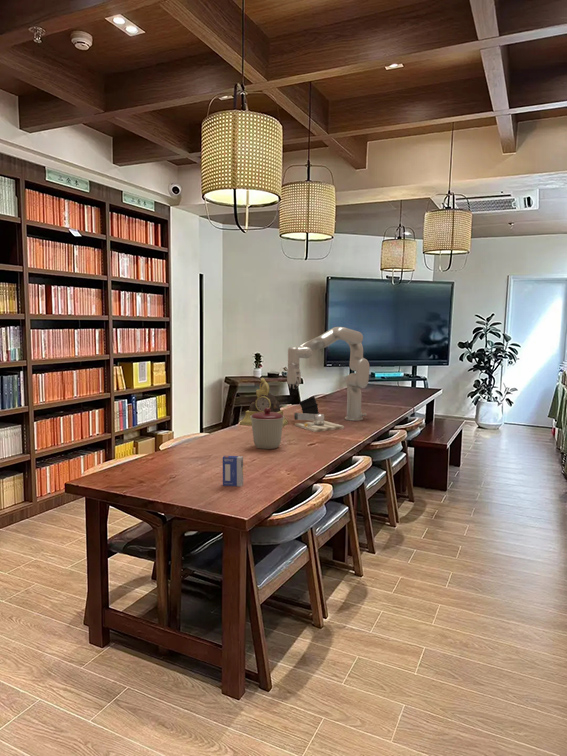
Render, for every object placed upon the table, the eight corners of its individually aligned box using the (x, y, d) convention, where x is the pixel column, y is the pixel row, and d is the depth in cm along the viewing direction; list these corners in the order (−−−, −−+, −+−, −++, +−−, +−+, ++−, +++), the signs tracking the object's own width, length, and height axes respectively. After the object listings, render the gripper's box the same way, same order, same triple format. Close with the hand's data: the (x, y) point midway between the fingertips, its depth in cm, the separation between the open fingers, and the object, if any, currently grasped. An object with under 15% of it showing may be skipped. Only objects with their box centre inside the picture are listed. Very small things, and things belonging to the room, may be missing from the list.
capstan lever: (325, 423, 329) (325, 414, 329) (322, 425, 324) (322, 415, 323) (295, 421, 335) (295, 412, 335) (293, 423, 330) (293, 413, 329)
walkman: (222, 485, 208) (222, 456, 207) (224, 483, 211) (224, 454, 210) (241, 486, 207) (241, 457, 206) (243, 484, 210) (243, 455, 209)
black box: (322, 416, 357) (313, 396, 358) (305, 423, 361) (296, 403, 362) (323, 415, 361) (314, 395, 361) (306, 422, 365) (297, 402, 365)
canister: (262, 441, 286) (262, 403, 284) (290, 446, 277) (291, 406, 275) (243, 448, 270) (243, 408, 268) (272, 453, 261) (272, 411, 259)
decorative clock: (239, 425, 333) (239, 378, 330) (246, 421, 345) (246, 376, 342) (281, 428, 325) (282, 380, 322) (287, 424, 337) (287, 378, 334)
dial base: (323, 422, 343) (323, 417, 342) (344, 428, 324) (344, 423, 324) (295, 425, 331) (295, 420, 331) (315, 432, 313) (315, 426, 312)
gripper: (305, 367, 330) (305, 395, 332) (291, 365, 344) (291, 392, 345) (295, 367, 326) (295, 396, 328) (282, 365, 340) (282, 393, 342)
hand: (293, 394), depth 337 cm, fingers closed
